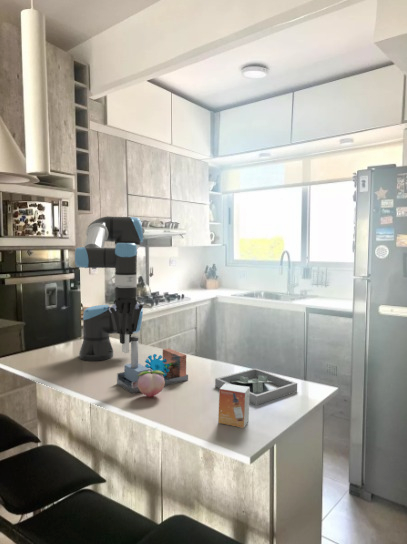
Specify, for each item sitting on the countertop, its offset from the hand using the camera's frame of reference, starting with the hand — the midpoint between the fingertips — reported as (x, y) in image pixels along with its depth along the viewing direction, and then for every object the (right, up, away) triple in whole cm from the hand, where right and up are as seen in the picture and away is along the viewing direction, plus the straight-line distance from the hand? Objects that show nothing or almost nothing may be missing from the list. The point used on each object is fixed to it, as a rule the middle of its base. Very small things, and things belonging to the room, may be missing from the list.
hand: (125, 351), depth 141 cm
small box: (+37, -16, -24) cm, 47 cm away
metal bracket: (+46, -15, +6) cm, 49 cm away
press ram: (+3, -11, +4) cm, 12 cm away
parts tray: (+47, -14, +3) cm, 49 cm away
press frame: (+9, -13, +8) cm, 18 cm away
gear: (+11, -11, +10) cm, 18 cm away
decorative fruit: (+10, -14, -6) cm, 18 cm away
